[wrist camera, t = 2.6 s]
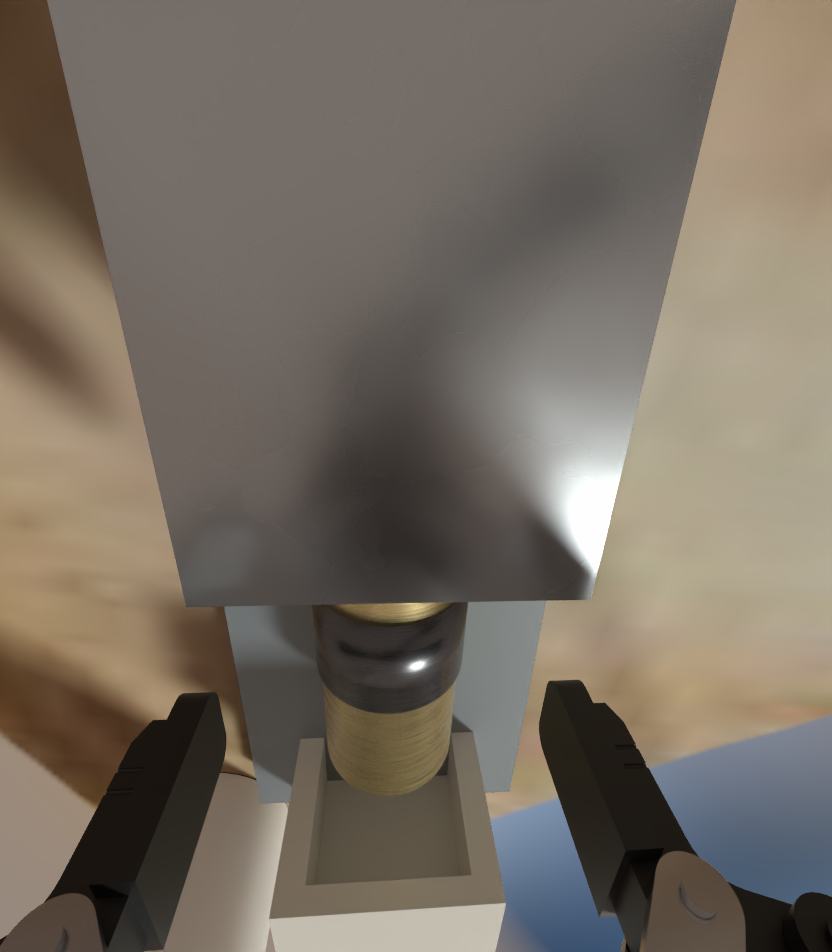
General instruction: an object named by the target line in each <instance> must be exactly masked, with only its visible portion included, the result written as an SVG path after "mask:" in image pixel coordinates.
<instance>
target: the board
mask: <svg viewBox="0 0 832 952" xmlns="http://www.w3.org/2000/svg"><path fill="white" fill-rule="evenodd" d="M545 604H546V601H492V602H468V609H467V619H466V629H465V638H464V648H463V658H462V665H461V669H460V672H459V674H458V677H457V678H456V681H455V692H454V702H453V713H452V724H451V733H458V732H473V734H474V739H475V744H476V749H477V755H478V760H479V765H480V770H481V775H482V780H483V786H484V791H485V793H488V792H508V791H510V786H511V781H512V776H513V771H514V766H515V760H516V755H517V750H518V745H519V740H520V734H521V729H522V724H523V719H524V713H525V708H526V703H527V698H528V693H529V687H530V682H531V677H532V672H533V666H534V661H535V656H536V651H537V646H538V640H539V635H540V630H541V625H542V619H543V614H544V609H545ZM224 609H225V614H226V620H227V625H228V631H229V636H230V641H231V647H232V652H233V658H234V663H235V668H236V674H237V679H238V684H239V690H240V695H241V701H242V706H243V711H244V717H245V722H246V728H247V733H248V738H249V744H250V749H251V755H252V760H253V765H254V771H255V776H256V781H257V787H258V792H259V798H260V803H261V804H267V803H287V802H290V796H291V791H292V785H293V779H294V774H295V768H296V762H297V757H298V751H299V745H300V740H301V739H307V738H324V745H325V757H326V770H327V781H334V780H344V779H343V778H342V777H341V776H340V774H339V773H338V772H337V770H336V769H335V767H334V765H333V763H332V761H331V758H330V755H329V751H328V743H327V731H326V718H325V704H324V691H323V681H322V680H321V677H320V675H319V673H318V669H317V663H316V651H315V639H314V627H313V615H312V605H279V606H226V607H224ZM450 738H451V734H450ZM449 748H450V744H449ZM448 759H449V749H448V753H447V756H446V759H445V761H444V763H443V765H442V766H441V768H440V769H439V771H438V772H437V773H436V774H435V775H434V776H441V775H447V769H448Z"/></svg>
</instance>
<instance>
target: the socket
mask: <svg viewBox="0 0 832 952" xmlns="http://www.w3.org/2000/svg"><path fill="white" fill-rule="evenodd" d="M505 905H506V900H505V895H504V890H503V884H502V880H501V874H500V869H499V864H498V859H497V854H496V848H495V843H494V838H493V833H492V827H491V823H490V817H489V812H488V806H487V801H486V796H485V791H484V786H483V780H482V775H481V770H480V765H479V760H478V755H477V749H476V744H475V739H474V734H473V732H458V733H451V738H450V748H449V759H448V769H447V775H441V776H433V778H432V779H431V780H429V781H428V782H427V783H426V784H424V785H423V786H421V787H419V788H418V789H416V790H413V791H411V792H409V793H405V794H401V795H396V796H378V795H372V794H368V793H365V792H363V791H360V790H358V789H356V788H355V787H353V786H352V785H350V784H349V783H347V782H346V781H345V780H334V781H327V770H326V757H325V745H324V738H307V739H301V740H300V745H299V751H298V757H297V762H296V768H295V774H294V779H293V785H292V791H291V796H290V802H289V808H288V813H287V819H286V825H285V830H284V836H283V842H282V847H281V853H280V859H279V864H278V870H277V876H276V881H275V887H274V893H273V898H272V904H271V910H270V915H269V922H270V927H271V932H272V936H273V941H274V946H275V951H276V952H495V950H496V946H497V941H498V937H499V932H500V928H501V923H502V919H503V914H504V910H505Z"/></svg>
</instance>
